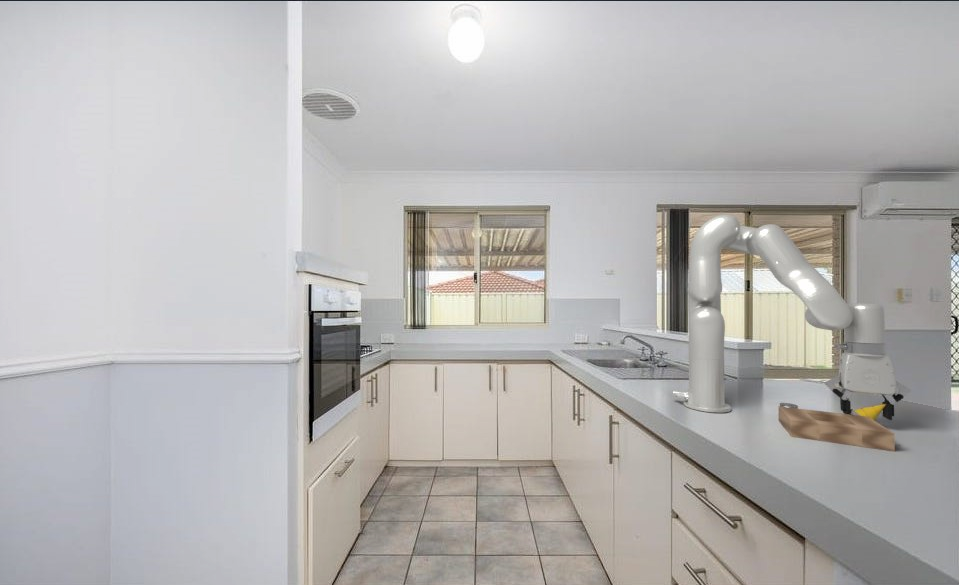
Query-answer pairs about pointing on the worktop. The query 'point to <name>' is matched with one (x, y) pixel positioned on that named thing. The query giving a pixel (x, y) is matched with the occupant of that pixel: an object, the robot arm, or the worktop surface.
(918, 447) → the worktop surface
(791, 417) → the wooden tray
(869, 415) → the yellow cone
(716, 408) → the robot arm
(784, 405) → the short pin
